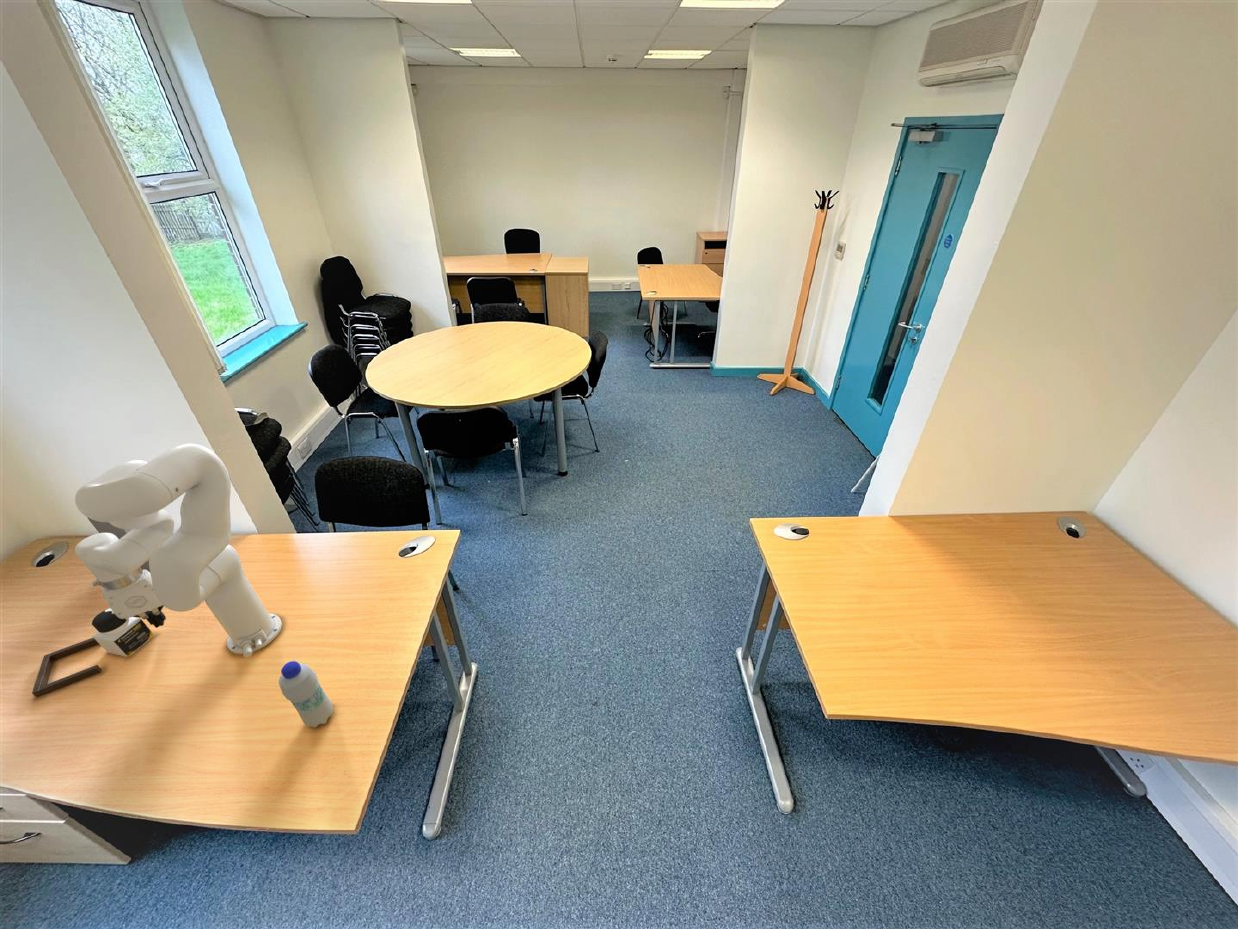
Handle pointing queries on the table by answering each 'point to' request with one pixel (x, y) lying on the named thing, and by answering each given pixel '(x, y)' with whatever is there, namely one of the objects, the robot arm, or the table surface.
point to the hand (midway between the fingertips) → (160, 623)
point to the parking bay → (45, 670)
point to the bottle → (305, 693)
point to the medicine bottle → (120, 633)
